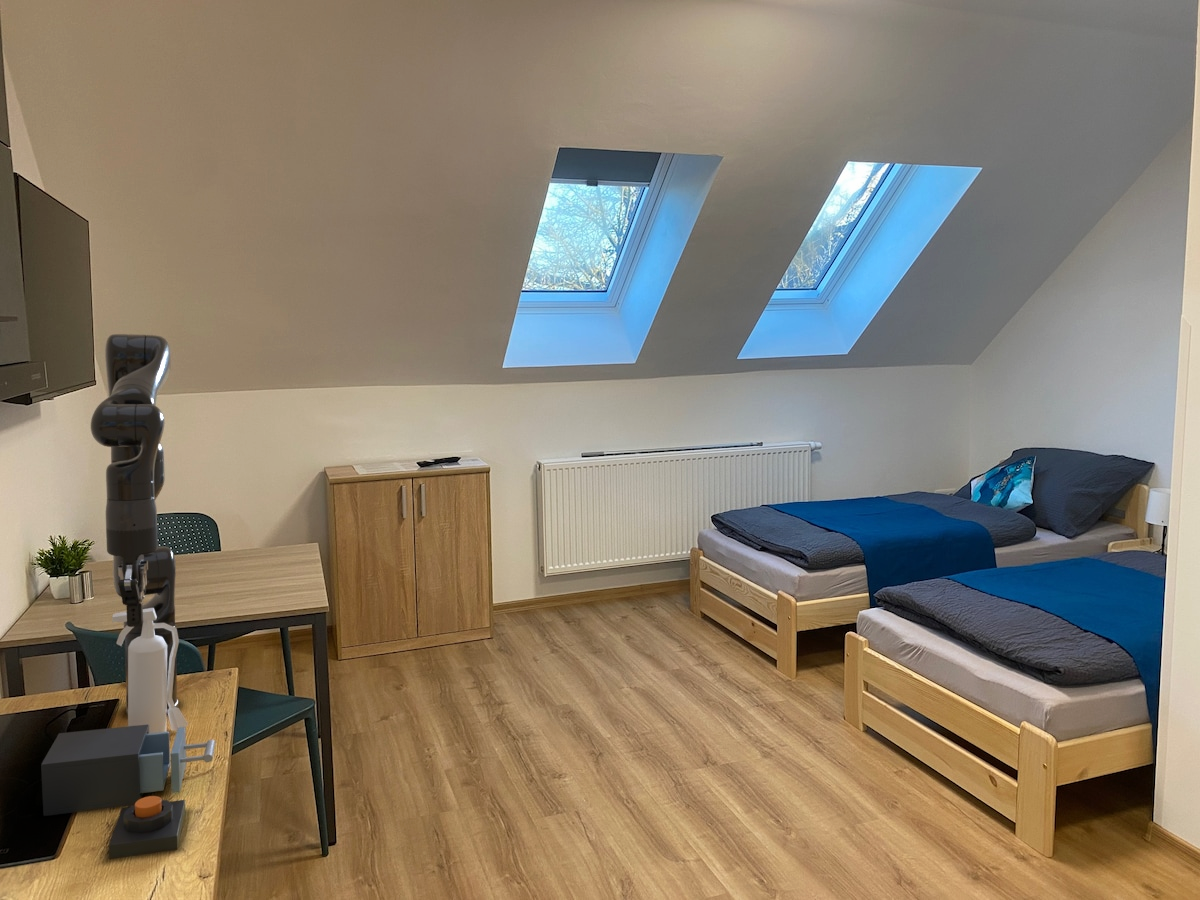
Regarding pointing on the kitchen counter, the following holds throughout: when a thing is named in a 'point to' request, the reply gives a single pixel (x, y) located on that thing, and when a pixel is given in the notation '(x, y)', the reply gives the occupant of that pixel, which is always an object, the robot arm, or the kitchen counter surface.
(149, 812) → the button
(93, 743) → the drawer housing
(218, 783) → the kitchen counter surface
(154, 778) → the drawer
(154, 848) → the control block
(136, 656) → the fire extinguisher
